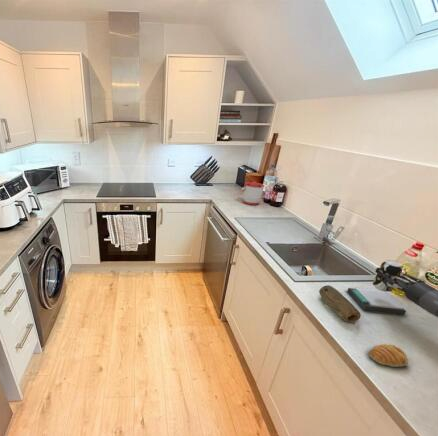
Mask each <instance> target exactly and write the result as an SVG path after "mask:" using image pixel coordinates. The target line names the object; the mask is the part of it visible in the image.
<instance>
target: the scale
mask: <svg viewBox="0 0 438 436" xmlns="http://www.w3.org/2000/svg"><path fill="white" fill-rule="evenodd" d="M346 293H347V294H348V295H349V297H351V299H352V300H353V301H354V302H355V303H356V304H357V305H358V307H360V308H361V310H362V311H364V312H372V313H380V314H381V313H382V314H391V315H398V316H405V314H406V313H407V310H406V309H405V308H404V306H402V305H401V304H400V303H399V302H398V301H397V300H396V299H394V298H393V296H392V295H390V294H389V292H385V291H381V290H379V289H370V288H361V287H355V288H354V287H353V288H352V287H348V288H347V291H346Z"/></svg>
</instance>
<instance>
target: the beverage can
mask: <svg viewBox="0 0 438 436" xmlns="http://www.w3.org/2000/svg"><path fill="white" fill-rule="evenodd" d="M379 268H380V269H379V270H380V271H381V272H380V274H378V273H376V275H375V276H374V279H373V281H372V286H373V287H374V288H375V289H376V290H381V291H385V292H387V293H389V292H392V291H393V289H394V287H392V288H391V289H389V288H387V287H386V285H385V284H384V283H383V282H382V281H381V277H382V275H383V274H386V273H388V274H390V275H393V276H398V277H399V276H400V274H402V272H403V264H402V263H400V262H398V261H397V260H394V259H393V260H392V259H386V260H385V261H383V262H381V264H380V266H379ZM389 278H390V279H391V277H389Z"/></svg>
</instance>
